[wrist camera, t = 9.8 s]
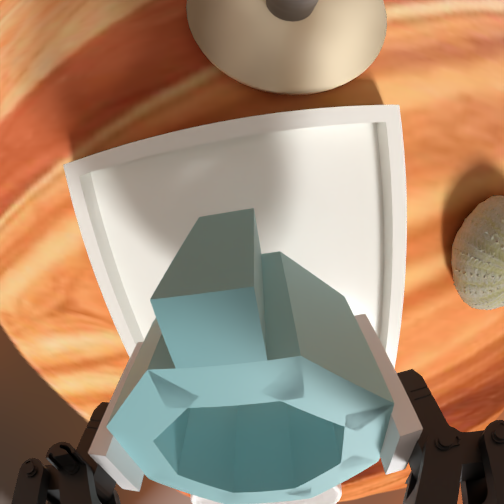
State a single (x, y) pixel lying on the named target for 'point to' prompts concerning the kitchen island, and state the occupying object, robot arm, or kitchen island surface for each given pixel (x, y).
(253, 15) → the stand
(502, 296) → the sea urchin shell
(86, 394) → the kitchen island surface
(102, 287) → the tray
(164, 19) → the kitchen island surface
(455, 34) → the kitchen island surface
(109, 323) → the kitchen island surface
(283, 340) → the teal hollow octagonal piece
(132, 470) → the robot arm
